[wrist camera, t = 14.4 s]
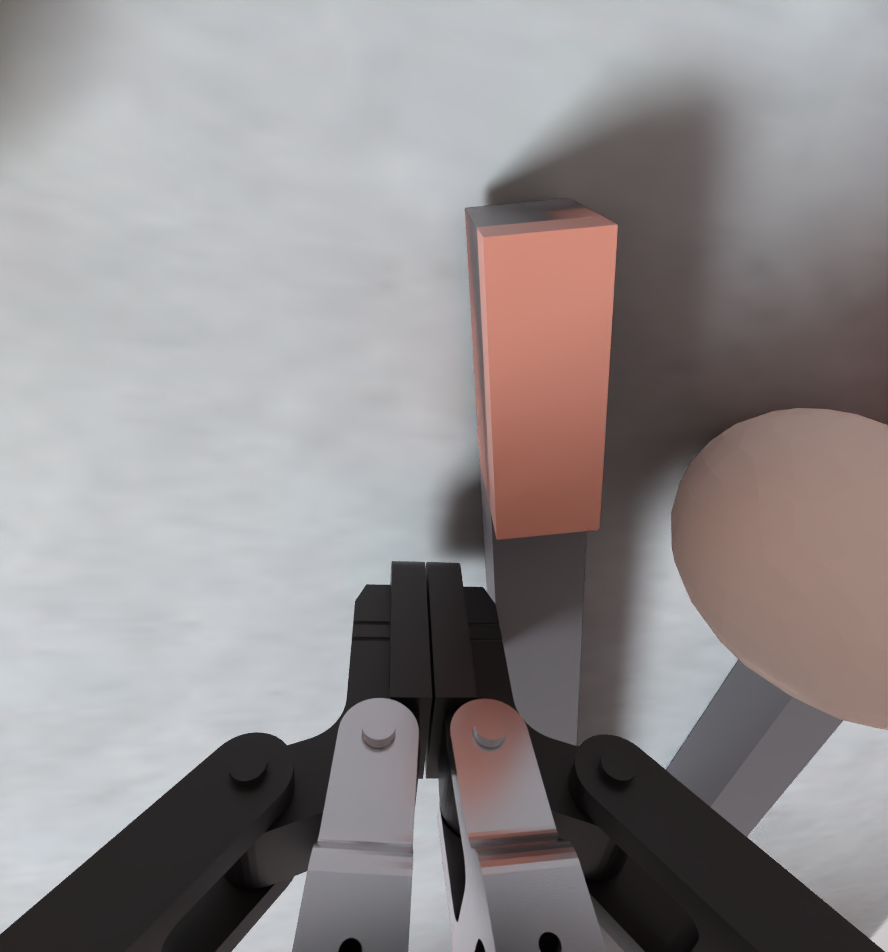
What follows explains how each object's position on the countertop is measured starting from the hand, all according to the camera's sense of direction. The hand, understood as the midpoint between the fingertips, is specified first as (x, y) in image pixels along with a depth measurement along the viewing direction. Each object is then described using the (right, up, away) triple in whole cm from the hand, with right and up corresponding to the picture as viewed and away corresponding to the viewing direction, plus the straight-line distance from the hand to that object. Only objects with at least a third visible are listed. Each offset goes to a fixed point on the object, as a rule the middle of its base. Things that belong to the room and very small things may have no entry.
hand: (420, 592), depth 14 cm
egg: (+7, +3, +1) cm, 8 cm away
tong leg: (+3, -2, +3) cm, 4 cm away
